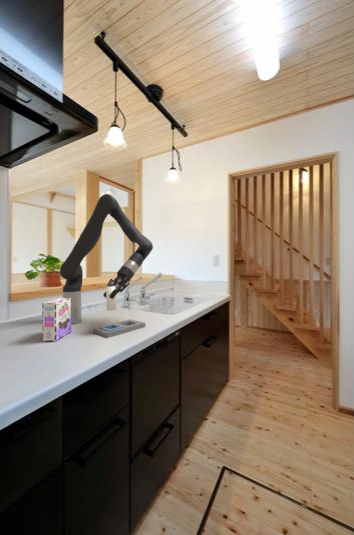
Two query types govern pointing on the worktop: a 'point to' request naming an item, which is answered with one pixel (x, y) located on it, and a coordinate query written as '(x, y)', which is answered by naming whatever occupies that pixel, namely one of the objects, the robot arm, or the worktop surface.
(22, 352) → the worktop surface
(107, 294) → the cream upright block
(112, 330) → the grey socket board
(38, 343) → the worktop surface
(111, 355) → the worktop surface
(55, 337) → the candy box
